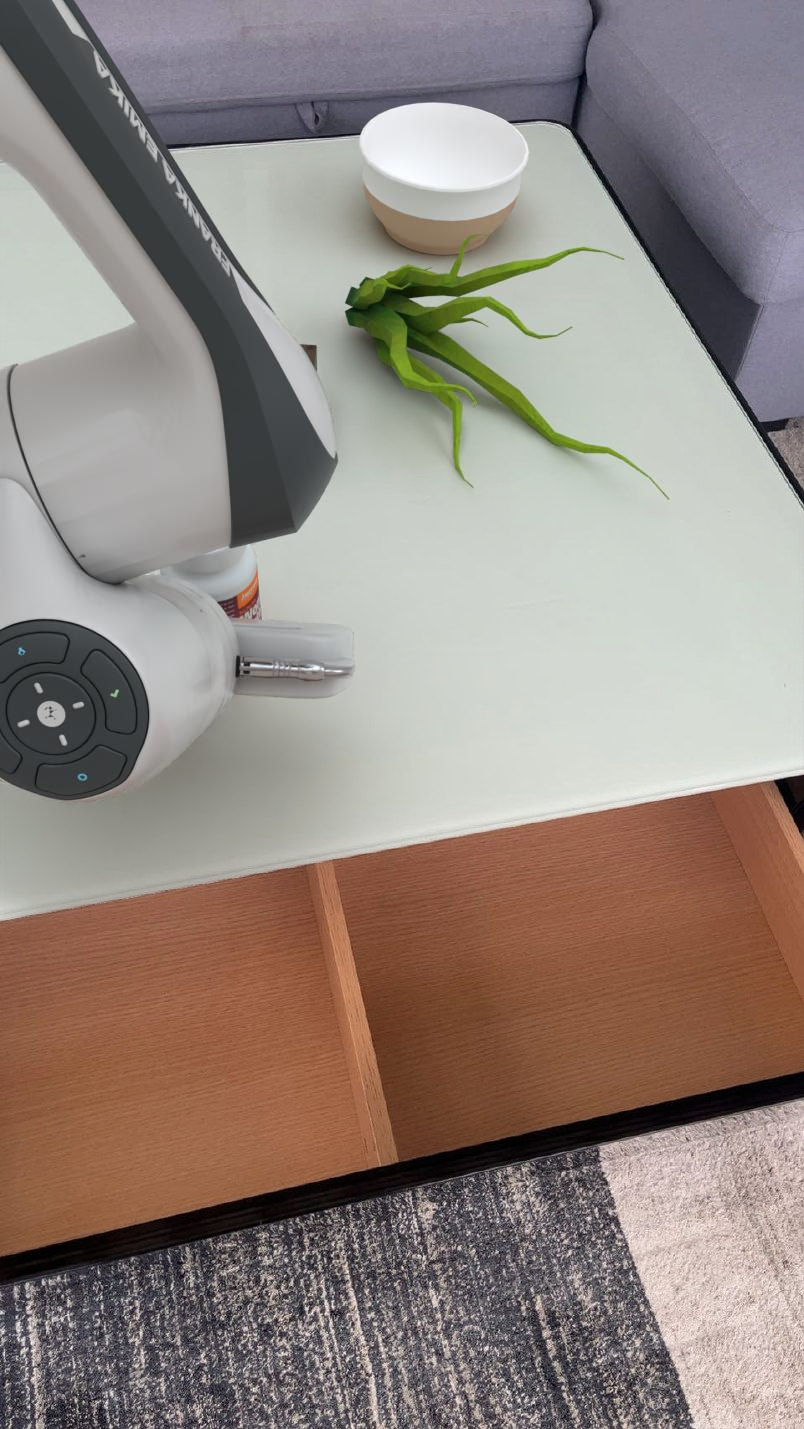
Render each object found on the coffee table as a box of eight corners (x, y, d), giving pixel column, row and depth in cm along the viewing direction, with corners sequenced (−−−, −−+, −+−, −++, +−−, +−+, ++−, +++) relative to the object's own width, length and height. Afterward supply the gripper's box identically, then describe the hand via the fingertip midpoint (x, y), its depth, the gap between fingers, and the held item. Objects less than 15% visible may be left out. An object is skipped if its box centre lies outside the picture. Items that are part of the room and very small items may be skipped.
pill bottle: (264, 674, 72) (254, 559, 63) (173, 678, 72) (149, 562, 63) (262, 605, 76) (253, 487, 67) (175, 608, 75) (153, 489, 66)
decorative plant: (449, 562, 80) (469, 403, 67) (338, 326, 95) (338, 162, 83) (663, 517, 83) (719, 359, 71) (523, 297, 99) (549, 137, 87)
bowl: (497, 285, 100) (508, 204, 94) (335, 250, 102) (335, 168, 96) (532, 199, 109) (545, 120, 103) (383, 169, 111) (386, 89, 105)
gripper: (356, 613, 54) (364, 597, 67) (-49, 587, 53) (41, 577, 67) (349, 735, 55) (358, 695, 69) (-48, 711, 55) (41, 675, 68)
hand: (199, 636), depth 68 cm, fingers closed, pressing on pill bottle
